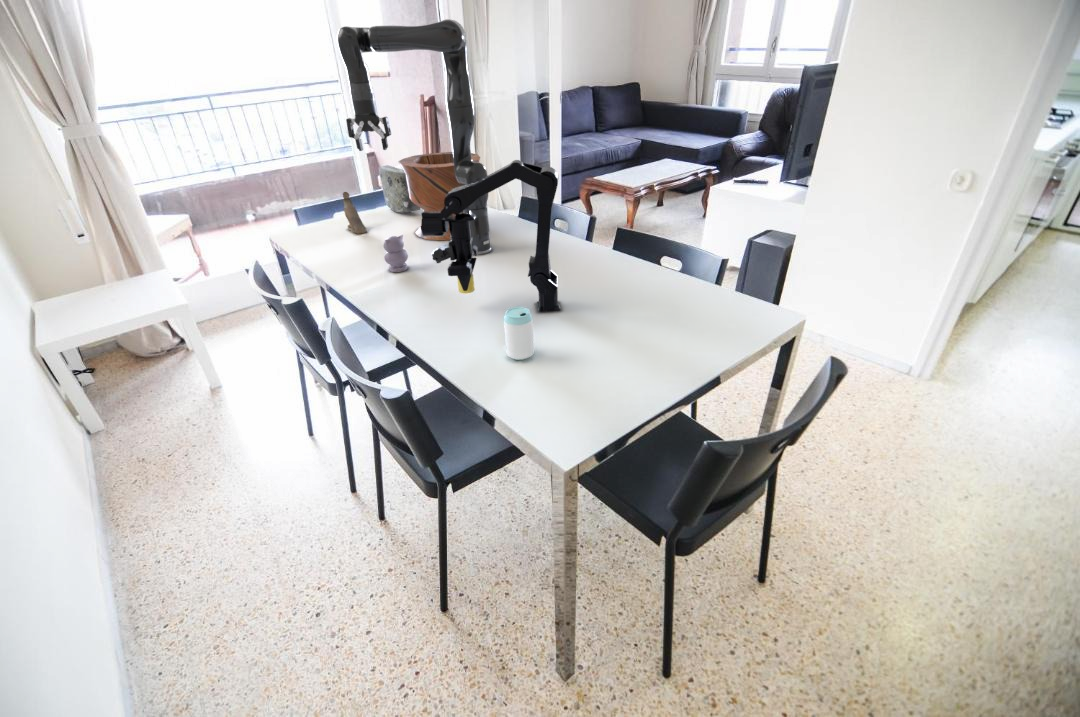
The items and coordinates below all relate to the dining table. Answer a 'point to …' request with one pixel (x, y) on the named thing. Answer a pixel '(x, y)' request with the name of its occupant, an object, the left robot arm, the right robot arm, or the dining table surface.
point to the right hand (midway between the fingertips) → (466, 287)
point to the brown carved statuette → (352, 216)
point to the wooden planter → (431, 182)
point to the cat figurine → (395, 253)
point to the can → (519, 333)
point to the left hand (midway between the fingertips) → (373, 150)
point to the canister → (470, 287)
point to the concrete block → (396, 189)
